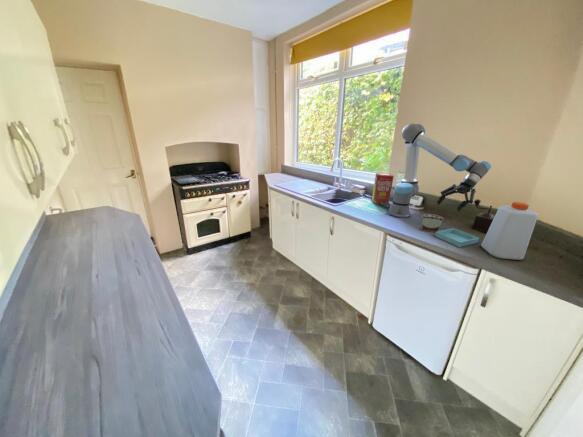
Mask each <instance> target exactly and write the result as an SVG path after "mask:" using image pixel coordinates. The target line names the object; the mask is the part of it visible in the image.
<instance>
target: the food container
mask: <svg viewBox="0 0 583 437" xmlns="http://www.w3.org/2000/svg"><path fill="white" fill-rule="evenodd" d="M421 218H422V222H421V231H424V232H432V233H436V232H437V231H440V228H441V225H442V223H443V222H444V217H443V216H441V215H439V214H434V213H423V215H422V216H421Z"/></svg>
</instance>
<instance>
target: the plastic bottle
mask: <svg viewBox="0 0 583 437" xmlns="http://www.w3.org/2000/svg"><path fill="white" fill-rule="evenodd" d="M529 207H530V206H529V204H528V203H525V202H519V201H513V202H512V203H511V205H500V206H499V207H498V209H497V211H496V213H495V214H494V216H495V217H494V219H493V221H492V223H491V226H490V228H489V230H488V232H486V234H485V236H484V238H483V240H482V242H481V248H482V249H483V250H484V251H486V252H487V253H488V254H489V255H491V256H493V257H494V258H498V259H504V260H512V261H513V260H515V261H521V260H523V259H524V258H525V256H526V252H527V249H528V247H529V245H530V241H531V237H532V236H533V235H532V234H533V232H534V229H535V226H536V223H537V220H538V218H539V214H538V213H537V212H535V211H533V210H531V209H529Z"/></svg>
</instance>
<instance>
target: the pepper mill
mask: <svg viewBox="0 0 583 437" xmlns="http://www.w3.org/2000/svg"><path fill="white" fill-rule="evenodd" d="M481 201H482V200H481V199H478V198H477V199H476V198H475V199H473V203H474V207H475V208H476V209H479V210H488V211H486V212H479V213H478V214H476V216H475V218H474V221H473V225H472V227H471V229H473V230H476V231H479V232H482V233H487V232H488V230H489V228H490V226H491V223H492V221H493V219H494V217H495V214H492V213H491V210H492V208H493V205H489V207H481V206H480V204H481Z"/></svg>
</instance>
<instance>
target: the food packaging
mask: <svg viewBox="0 0 583 437" xmlns="http://www.w3.org/2000/svg"><path fill="white" fill-rule="evenodd" d="M374 176H375V177H374V184H373V189H372V196H371V197H372V198H371V202H372V203H373V204H378V203H380V204H382V205H389V202H390V198H391V192H392V188H393V182H394V174H393V173H381V172H375V175H374Z"/></svg>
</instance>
